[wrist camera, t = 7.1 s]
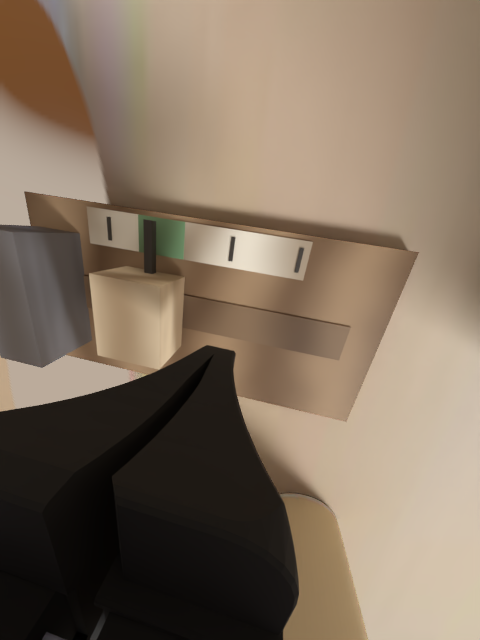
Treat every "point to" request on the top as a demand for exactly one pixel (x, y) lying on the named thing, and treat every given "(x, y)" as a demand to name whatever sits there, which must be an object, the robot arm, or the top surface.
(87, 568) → the robot arm
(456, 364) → the top surface
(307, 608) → the coffee cup
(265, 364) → the gauge base
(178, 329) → the gauge slider
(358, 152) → the top surface
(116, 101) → the top surface
